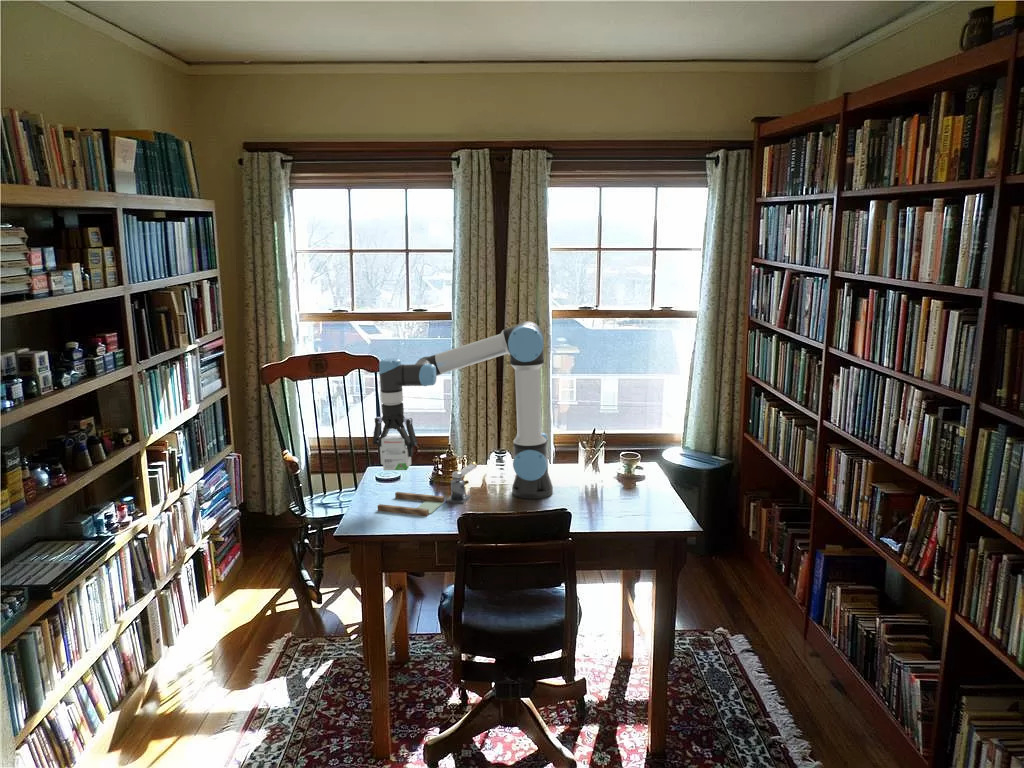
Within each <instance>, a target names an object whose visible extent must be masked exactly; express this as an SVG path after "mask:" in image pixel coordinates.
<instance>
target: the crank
mask: <svg viewBox="0 0 1024 768" xmlns="http://www.w3.org/2000/svg"><path fill="white" fill-rule="evenodd" d="M477 467H478V465H477V462H475V461H472V463H470V464H468V465H467V466H465V467H463V468H462V469H460V470H454V471H452V474H451V475H452V476H451V477H452V480H454V479H462V480H463V477H464V476H466V475H467V474H468V473H470V472H472V471H473V470H474V469H477Z"/></svg>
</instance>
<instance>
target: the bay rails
mask: <svg viewBox="0 0 1024 768" xmlns="http://www.w3.org/2000/svg"><path fill="white" fill-rule="evenodd" d="M394 494H395V495H394V497H395V499H396V500H397V499H399V500H408V501H418V502H425V501H432V502H442V503H443V504H444V503H445V496H443V495H441V496H440V495H433V494H423V493H413V492H412V493H410V492H401V491H396V492H395V493H394ZM377 512H384V513H392V514H403V515H412V516H421V517H428V516H429V515H430V514H429V509H421V508H417V507H408V506H400V505H390V504H381V503H379V504H378V505H377Z"/></svg>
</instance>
